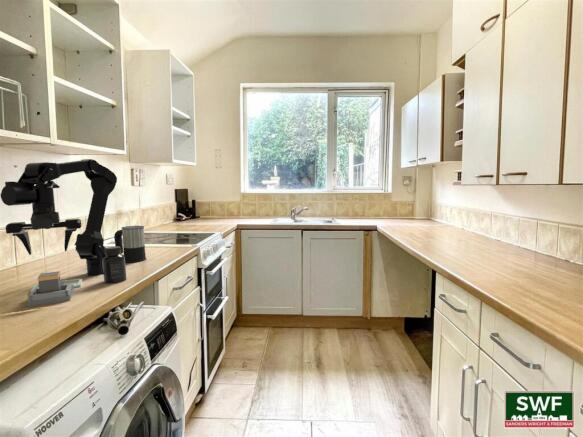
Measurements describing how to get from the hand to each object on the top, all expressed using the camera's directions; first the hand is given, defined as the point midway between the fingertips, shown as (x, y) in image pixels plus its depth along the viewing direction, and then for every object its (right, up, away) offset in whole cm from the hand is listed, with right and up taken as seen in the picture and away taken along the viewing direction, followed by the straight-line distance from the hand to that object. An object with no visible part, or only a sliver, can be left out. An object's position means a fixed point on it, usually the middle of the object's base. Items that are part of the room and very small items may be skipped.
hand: (48, 252), depth 108 cm
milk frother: (+6, -8, +38) cm, 39 cm away
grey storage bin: (+7, -13, -8) cm, 17 cm away
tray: (+1, -12, +2) cm, 12 cm away
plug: (+8, -11, -10) cm, 17 cm away
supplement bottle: (+17, -11, +8) cm, 22 cm away
